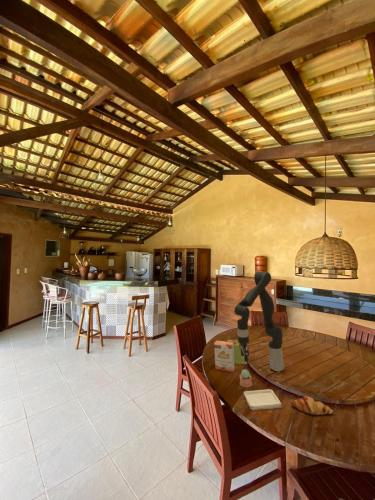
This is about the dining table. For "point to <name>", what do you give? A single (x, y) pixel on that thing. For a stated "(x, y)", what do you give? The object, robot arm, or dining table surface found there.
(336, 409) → the dining table surface
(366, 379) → the dining table surface
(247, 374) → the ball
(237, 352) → the protein box
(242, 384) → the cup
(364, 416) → the dining table surface
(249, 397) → the tray
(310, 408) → the croissant
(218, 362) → the cracker box
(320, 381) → the dining table surface
